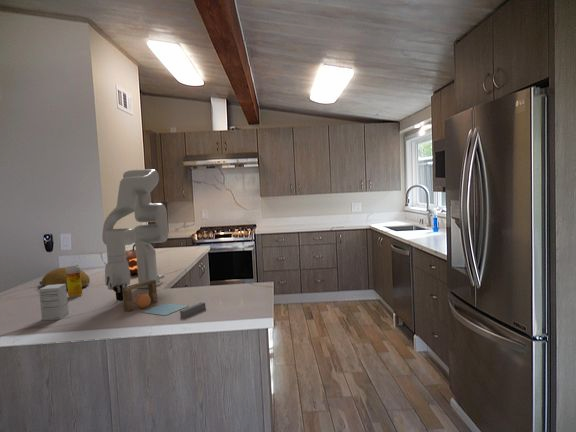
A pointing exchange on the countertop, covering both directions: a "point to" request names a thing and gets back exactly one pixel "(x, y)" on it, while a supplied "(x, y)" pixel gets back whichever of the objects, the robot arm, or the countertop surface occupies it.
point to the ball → (143, 300)
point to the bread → (62, 277)
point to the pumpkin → (132, 261)
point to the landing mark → (165, 309)
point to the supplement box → (53, 301)
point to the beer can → (74, 281)
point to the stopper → (192, 310)
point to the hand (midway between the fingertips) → (120, 300)
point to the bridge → (128, 290)
